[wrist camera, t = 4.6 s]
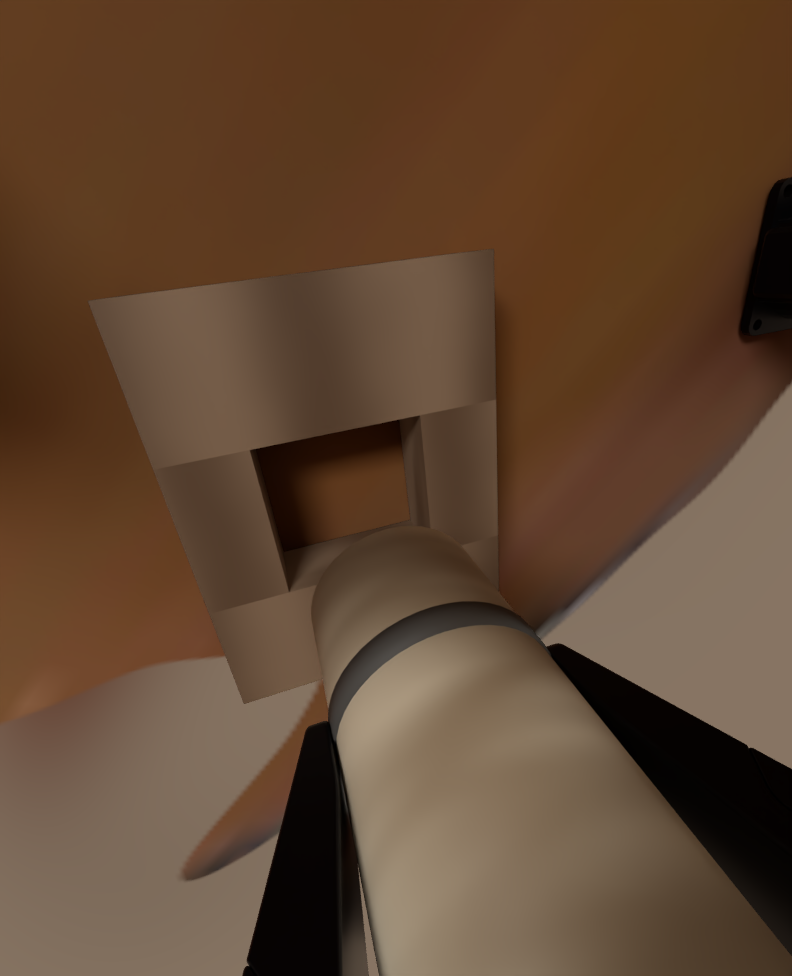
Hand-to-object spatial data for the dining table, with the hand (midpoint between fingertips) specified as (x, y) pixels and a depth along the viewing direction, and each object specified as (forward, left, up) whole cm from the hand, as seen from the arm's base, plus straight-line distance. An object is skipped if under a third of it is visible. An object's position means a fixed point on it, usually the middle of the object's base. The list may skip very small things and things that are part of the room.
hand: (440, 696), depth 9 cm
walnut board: (0, 0, -12) cm, 12 cm away
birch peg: (0, 0, -3) cm, 3 cm away
